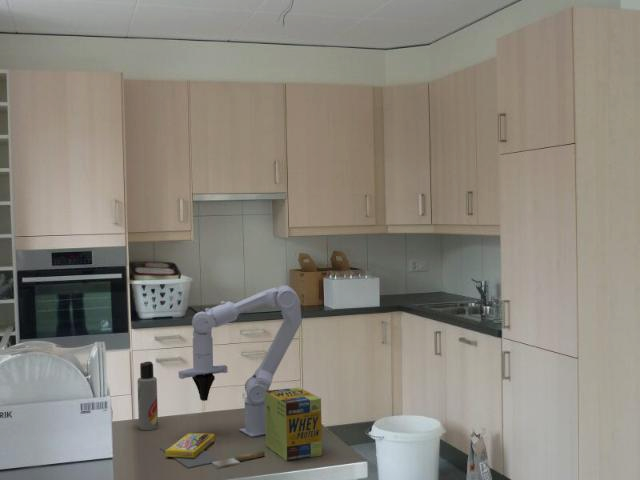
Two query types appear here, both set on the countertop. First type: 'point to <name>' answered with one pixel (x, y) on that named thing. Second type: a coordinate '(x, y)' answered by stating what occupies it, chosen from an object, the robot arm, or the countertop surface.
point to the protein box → (293, 423)
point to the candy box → (190, 445)
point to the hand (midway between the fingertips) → (203, 399)
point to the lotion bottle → (147, 398)
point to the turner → (237, 459)
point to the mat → (194, 459)
